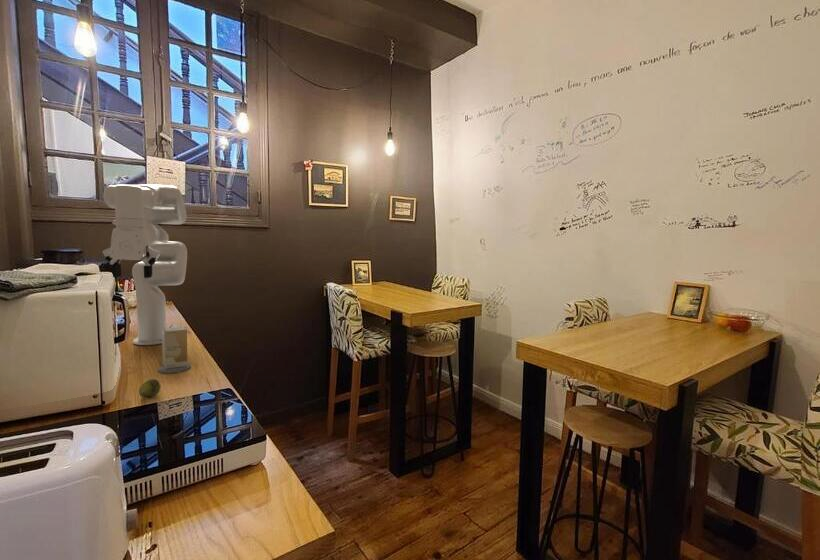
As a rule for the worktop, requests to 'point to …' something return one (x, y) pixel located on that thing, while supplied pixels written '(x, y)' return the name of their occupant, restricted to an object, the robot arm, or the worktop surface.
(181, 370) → the coaster
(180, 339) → the skincare box
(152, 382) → the lime
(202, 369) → the worktop surface
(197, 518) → the worktop surface
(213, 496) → the worktop surface
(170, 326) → the photo printer
